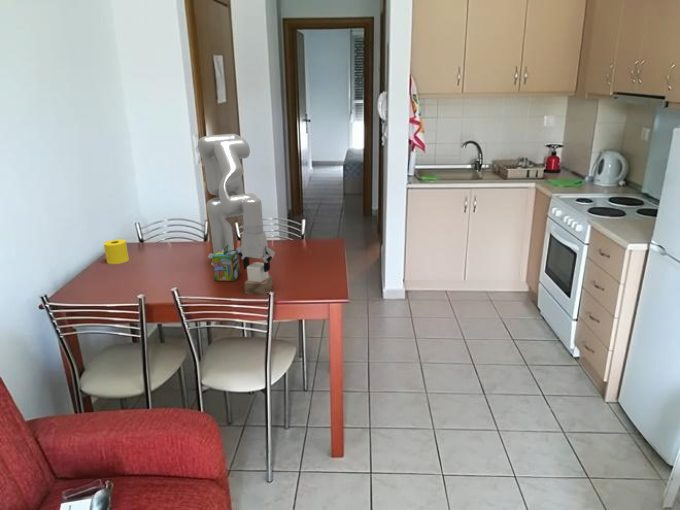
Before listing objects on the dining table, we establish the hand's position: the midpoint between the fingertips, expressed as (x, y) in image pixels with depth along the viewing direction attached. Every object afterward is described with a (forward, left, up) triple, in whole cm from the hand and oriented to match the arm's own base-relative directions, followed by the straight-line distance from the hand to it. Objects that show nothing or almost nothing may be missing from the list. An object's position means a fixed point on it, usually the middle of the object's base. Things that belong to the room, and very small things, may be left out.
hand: (256, 269), depth 214 cm
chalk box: (-21, +8, -9) cm, 24 cm away
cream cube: (0, 0, -4) cm, 4 cm away
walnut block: (+1, 0, -9) cm, 9 cm away
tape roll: (-87, +10, -9) cm, 88 cm away
